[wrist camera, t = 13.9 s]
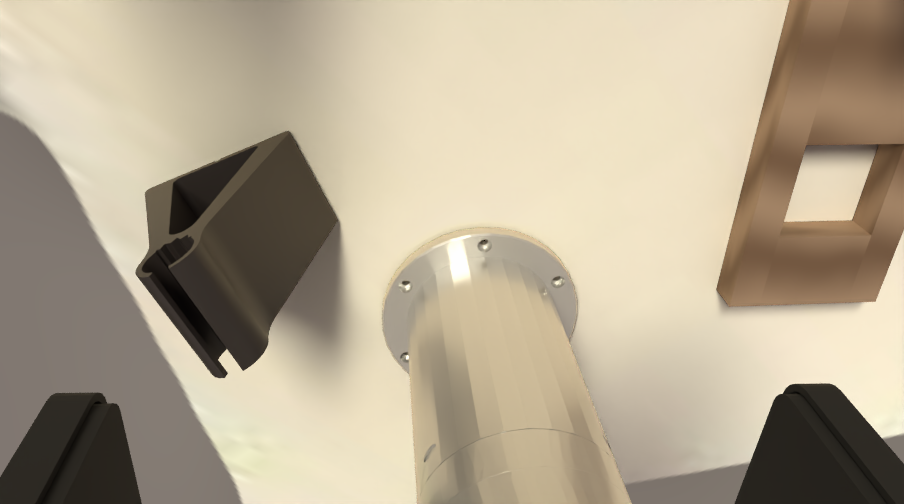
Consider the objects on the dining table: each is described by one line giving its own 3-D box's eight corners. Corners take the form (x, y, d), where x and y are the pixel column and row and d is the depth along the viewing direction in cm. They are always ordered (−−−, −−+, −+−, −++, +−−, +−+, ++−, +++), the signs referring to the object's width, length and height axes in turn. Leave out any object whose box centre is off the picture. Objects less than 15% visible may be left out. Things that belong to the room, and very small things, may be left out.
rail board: (857, 285, 47) (878, 304, 45) (716, 289, 46) (731, 309, 44) (1080, -313, 31) (1127, -324, 29) (871, -323, 30) (906, -335, 28)
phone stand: (203, 271, 42) (146, 407, 32) (146, 188, 39) (63, 309, 29) (338, 218, 41) (324, 341, 31) (290, 129, 38) (257, 232, 28)
